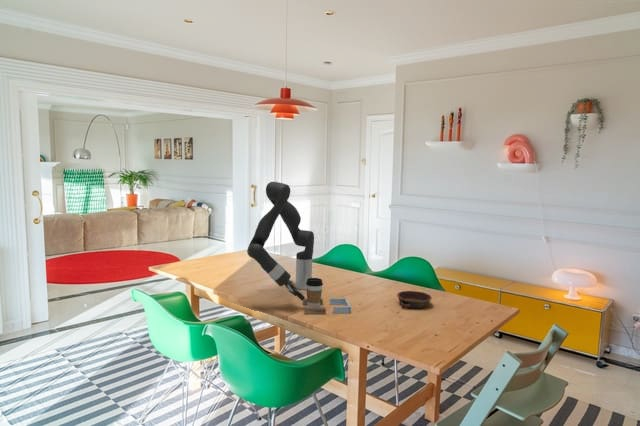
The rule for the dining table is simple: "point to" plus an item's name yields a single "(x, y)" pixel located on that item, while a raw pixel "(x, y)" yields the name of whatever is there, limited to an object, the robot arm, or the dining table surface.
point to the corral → (341, 309)
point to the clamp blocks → (314, 308)
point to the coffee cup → (314, 291)
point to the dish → (414, 299)
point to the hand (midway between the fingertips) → (303, 298)
